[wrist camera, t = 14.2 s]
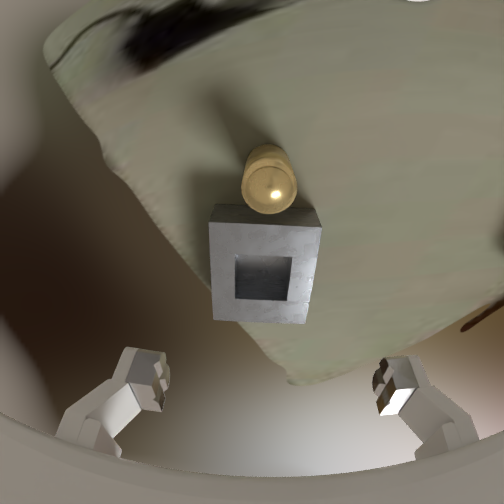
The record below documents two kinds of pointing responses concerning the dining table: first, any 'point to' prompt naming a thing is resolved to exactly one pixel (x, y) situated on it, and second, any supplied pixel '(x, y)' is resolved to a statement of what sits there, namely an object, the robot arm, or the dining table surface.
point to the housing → (262, 263)
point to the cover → (268, 180)
